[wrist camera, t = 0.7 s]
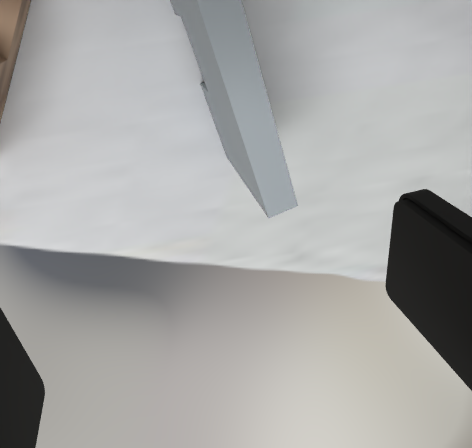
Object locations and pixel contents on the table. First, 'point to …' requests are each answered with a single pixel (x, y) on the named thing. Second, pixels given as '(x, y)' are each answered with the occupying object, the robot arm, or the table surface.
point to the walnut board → (10, 41)
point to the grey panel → (238, 98)
